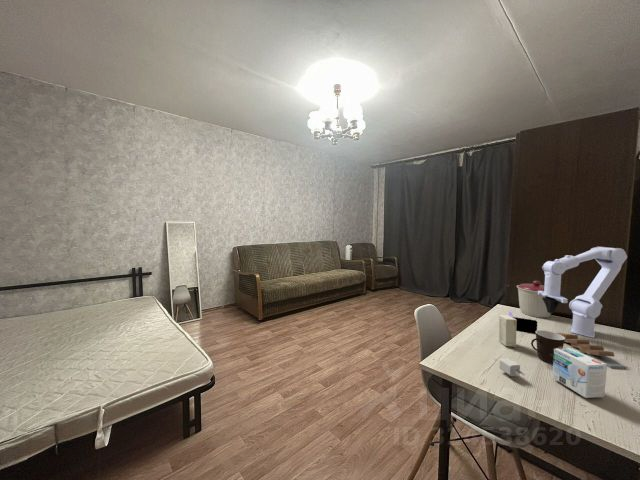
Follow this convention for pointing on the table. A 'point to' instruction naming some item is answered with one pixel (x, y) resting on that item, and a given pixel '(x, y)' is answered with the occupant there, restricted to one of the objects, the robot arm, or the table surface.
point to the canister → (532, 300)
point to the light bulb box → (579, 372)
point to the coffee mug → (547, 344)
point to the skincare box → (507, 330)
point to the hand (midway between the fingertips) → (550, 312)
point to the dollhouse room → (525, 325)
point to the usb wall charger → (510, 367)
